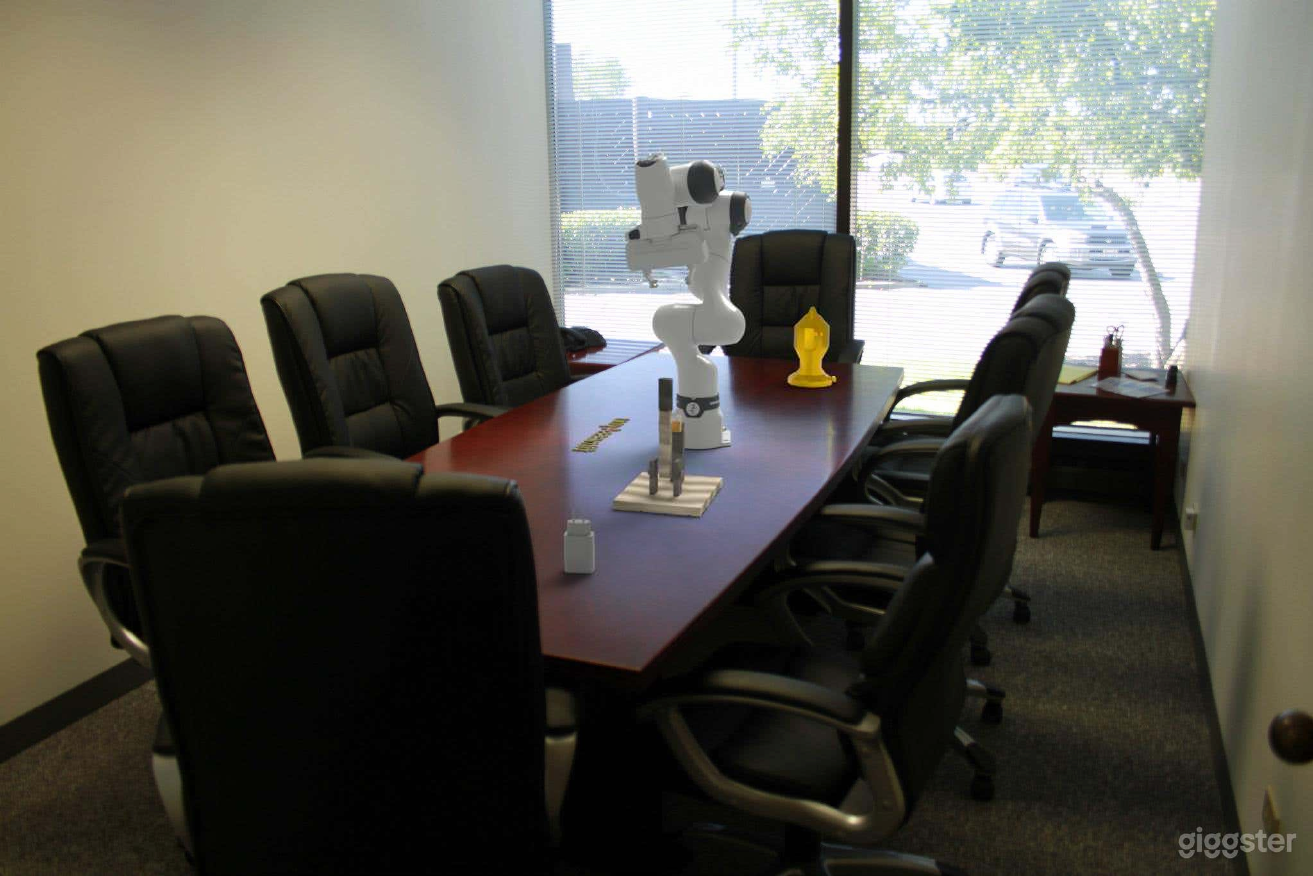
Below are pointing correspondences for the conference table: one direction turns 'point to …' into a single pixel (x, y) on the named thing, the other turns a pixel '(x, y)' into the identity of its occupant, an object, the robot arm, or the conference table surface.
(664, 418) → the lever
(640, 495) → the frame
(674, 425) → the pin
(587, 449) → the text sign
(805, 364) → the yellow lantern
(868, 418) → the conference table surface
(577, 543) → the power adapter
